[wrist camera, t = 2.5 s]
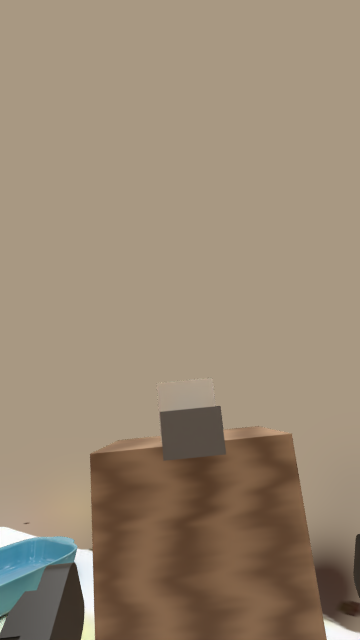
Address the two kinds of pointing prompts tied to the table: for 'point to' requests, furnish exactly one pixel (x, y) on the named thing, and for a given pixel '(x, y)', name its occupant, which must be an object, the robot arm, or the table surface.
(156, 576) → the stand
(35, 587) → the casserole dish
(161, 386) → the plug
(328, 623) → the table surface
